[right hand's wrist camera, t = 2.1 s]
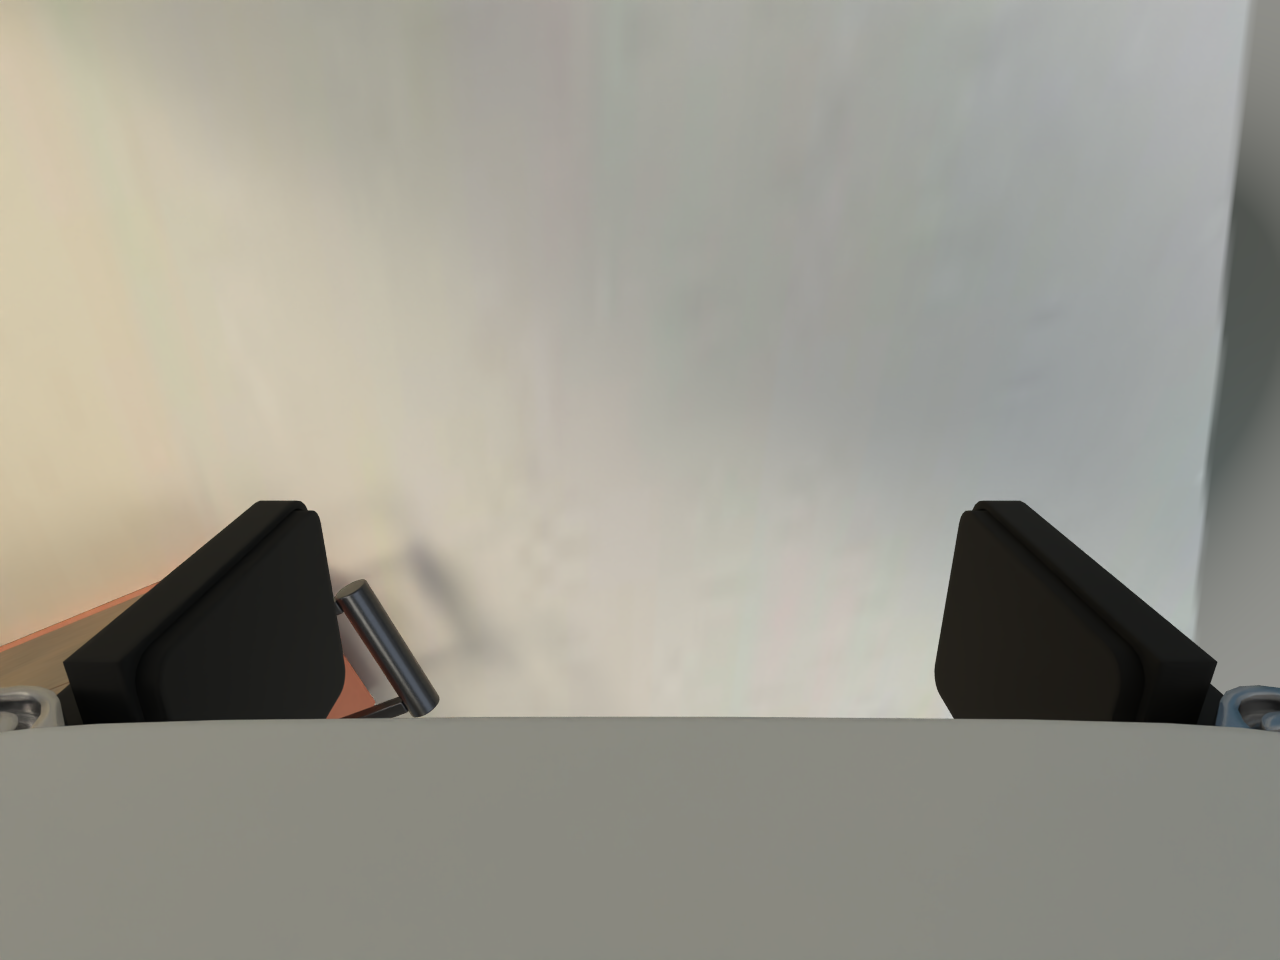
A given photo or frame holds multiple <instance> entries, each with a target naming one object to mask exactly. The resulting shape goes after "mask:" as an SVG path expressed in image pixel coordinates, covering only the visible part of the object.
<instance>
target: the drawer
mask: <svg viewBox="0 0 1280 960" xmlns="http://www.w3.org/2000/svg"><path fill="white" fill-rule="evenodd" d="M334 604H335V610H336V615H339V614H342V613H343V612H344V613H345V614H346V616H347V617H348V619H349V621H350V622H351V624H352V625H353V627H354V628H355V630H356V631H357V633H358V634H359V636H360V637H361V639H362V640H363V642H364V643H365V645H366V647H367V648H368V650H369V651H370V653H371V654H372V656H373V657H374V659H375V660H376V662H377V663H378V665H379V666H380V668H381V670H382V671H383V673H384V674H385V676H386V677H387V679H388V680H389V682H390V683H391V685H392V686H393V688H394V689H395V691H396V693H397V694H398V696H399V697H397V698H394V699H391V700H388V701H386V702H383V703H380V704H378V705H375V706H374V704H375V701H374V699H373V698H372V696H371V695H370V693H369V692H368V690H367V689H366V687H365V686H364V684H363V683H362V681H361V680H360V678H359V677H358V675H357V674H356V672H355V671H354V669H353V668H352V666H351V665H350V663H349V662H348V660H347V659H346V657H345V656H344V654H343V657H344V662H345V682H344V686H343V690H342V692H341V694H340V696H339V698H338V699H337V701H336V703H335V704H334V706H333V708H332V709H331V711H330V713H329V715H328V716H327V718H326V719H366V718H393V717H396V716H399V715H401V714H404V713H407V712H408V711H409V712H410V714H411V715H412V716H413V717H421V716H424V715H426V714H427V713H429V712H430V711H432V710H433V709H434V708H435V707H436V706H437V704H438V703H439V696H438V694H437V692H436V691H435V689H434V688H433V686H432V684H431V683H430V681H429V680H428V678H427V676H426V675H425V673H424V672H423V670H422V669H421V667H420V665H419V664H418V662H417V661H416V659H415V657H414V656H413V654H412V653H411V651H410V649H409V648H408V646H407V645H406V643H405V641H404V640H403V638H402V637H401V635H400V634H399V632H398V630H397V629H396V627H395V626H394V624H393V622H392V621H391V619H390V618H389V616H388V614H387V613H386V611H385V610H384V608H383V607H382V605H381V603H380V602H379V600H378V599H377V597H376V595H375V594H374V592H373V591H372V589H371V587H370V586H369V584H368V583H367V581H366V580H364V579H361V580H357V581H355V582H352V583H350V584H349V585H347V586H345V587H344V588H343V589H341V590H340V591H339V592H338V593H337V594H336V596H335V597H334Z"/></svg>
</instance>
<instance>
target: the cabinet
mask: <svg viewBox="0 0 1280 960" xmlns="http://www.w3.org/2000/svg"><path fill="white" fill-rule="evenodd" d="M158 583H159V582H157V583H155V584H152V585H150V586H147V587H145V588H143V589H140V590H138V591H135V592H133V593H130V594H128V595H125V596H123V597H121V598H118V599H116V600H113V601H111V602H108V603H106V604H104V605H101V606H99V607H96V608H94V609H91V610H89V611H86V612H84V613H82V614H79V615H77V616H74V617H72V618H69V619H67V620H65V621H62V622H60V623H57V624H55V625H52V626H50V627H47V628H45V629H43V630H40V631H38V632H35V633H33V634H30V635H28V636H26V637H23V638H21V639H18V640H16V641H13V642H11V643H8V644H6V645H4V646H1V647H0V688H4V687H12V686H20V685H23V686H41V687H43V688H46V689H48V690H51V691H54V693H55V694H56V695H57V694H58V693H60V692H61V691H62V690H63V689H64V688H65V687H66V686H68V685H69V684H70V683H69V680H68V677H67V674H66V671H65V668H64V665H63V661H64V660H66V659H67V658H68V657H69V656H70V655H72V654H73V653H74V652H75V651H76V650H78V649H79V648H80V647H81V646H83V645H84V644H85V643H86V642H87V641H89V640H90V639H91V638H92V637H93V636H95V635H96V634H97V633H98V632H100V631H101V630H102V629H103V628H104V627H106V626H107V625H108V624H109V623H110V622H112V621H113V620H114V619H115V618H117V617H118V616H119V615H120V614H121V613H123V612H124V611H125V610H126V609H127V608H129V607H130V606H131V605H132V604H133V603H135V602H136V601H137V600H138V599H140V598H141V597H142V596H143V595H144V594H146V593H147V592H148V591H149V590H150V589H152V588H153V587H154V586H155V585H157V584H158Z"/></svg>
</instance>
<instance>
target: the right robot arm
mask: <svg viewBox="0 0 1280 960" xmlns="http://www.w3.org/2000/svg"><path fill="white" fill-rule="evenodd" d="M63 665H64V668H65V671H66V674H67V677H68V680H69V683H70V684H69V685H68V686H66V687H65V688H64V689H63V690H62V691H61V692H60V693H58V694H57V695H56V694H55V693H54V691H51V690H48V689H46V688H43V687H41V686H23V685H20V686H12V687H4V688H0V960H1280V688H1276V687H1268V686H1260V685H1257V686H1240V687H1237V688H1234V689H1232V690H1229V691H1226V693H1225V694H1224V695H1223V694H1222V693H1220V692H1219V691H1218V690H1217V689H1216V688H1215V687H1214V686H1212V685H1211V684H1210V683H1211V680H1212V677H1213V674H1214V671H1215V667H1216V665H1217V661H1216V660H1214V659H1213V658H1212V657H1211V656H1210V655H1208V654H1207V653H1206V652H1205V651H1204V650H1202V649H1201V648H1200V647H1199V646H1197V645H1196V644H1195V643H1194V642H1193V641H1191V640H1190V639H1189V638H1188V637H1187V636H1185V635H1184V634H1183V633H1182V632H1180V631H1179V630H1178V629H1177V628H1176V627H1174V626H1173V625H1172V624H1171V623H1170V622H1168V621H1167V620H1166V619H1165V618H1163V617H1162V616H1161V615H1160V614H1159V613H1157V612H1156V611H1155V610H1154V609H1153V608H1151V607H1150V606H1149V605H1148V604H1147V603H1145V602H1144V601H1143V600H1142V599H1140V598H1139V597H1138V596H1137V595H1136V594H1134V593H1133V592H1132V591H1131V590H1130V589H1128V588H1127V587H1126V586H1125V585H1123V584H1122V583H1121V582H1120V581H1119V580H1117V579H1116V578H1115V577H1114V576H1113V575H1111V574H1110V573H1109V572H1108V571H1106V570H1105V569H1104V568H1103V567H1102V566H1100V565H1099V564H1098V563H1097V562H1096V561H1094V560H1093V559H1092V558H1091V557H1089V556H1088V555H1087V554H1086V553H1085V552H1083V551H1082V550H1081V549H1080V548H1079V547H1077V546H1076V545H1075V544H1074V543H1073V542H1071V541H1070V540H1069V539H1068V538H1066V537H1065V536H1064V535H1063V534H1062V533H1060V532H1059V531H1058V530H1057V529H1056V528H1054V527H1053V526H1052V525H1051V524H1049V523H1048V522H1047V521H1046V520H1045V519H1043V518H1042V517H1041V516H1040V515H1039V514H1037V513H1036V512H1035V511H1034V510H1032V509H1031V508H1030V507H1029V506H1028V505H1026V504H1025V503H1024V502H1022V501H979V502H978V503H977V504H975V506H974V508H973V510H972V511H965V512H964V513H963V514H962V516H961V518H960V522H959V528H958V533H957V539H956V545H955V551H954V557H953V563H952V569H951V574H950V580H949V586H948V592H947V598H946V604H945V610H944V615H943V621H942V627H941V633H940V639H939V645H938V651H937V657H936V662H935V682H936V686H937V690H938V692H939V694H940V696H941V698H942V699H943V701H944V703H945V704H946V706H947V708H948V709H949V711H950V713H951V715H952V716H953V718H954V719H912V718H794V717H459V718H366V719H326V718H327V716H328V715H329V713H330V711H331V709H332V708H333V706H334V704H335V703H336V701H337V699H338V698H339V696H340V694H341V692H342V690H343V686H344V682H345V662H344V657H343V651H342V645H341V639H340V633H339V627H338V621H337V615H336V610H335V604H334V598H333V592H332V586H331V580H330V574H329V569H328V563H327V557H326V551H325V545H324V539H323V533H322V528H321V522H320V518H319V516H318V514H317V513H316V512H315V511H308V510H307V508H306V506H305V504H303V503H302V502H301V501H258V502H256V503H255V504H254V505H252V506H251V507H250V508H249V509H248V510H246V511H245V512H244V513H243V514H241V515H240V516H239V517H238V518H237V519H235V520H234V521H233V522H232V523H231V524H229V525H228V526H227V527H226V528H224V529H223V530H222V531H221V532H220V533H218V534H217V535H216V536H215V537H214V538H212V539H211V540H210V541H209V542H207V543H206V544H205V545H204V546H203V547H201V548H200V549H199V550H198V551H197V552H195V553H194V554H193V555H192V556H191V557H189V558H188V559H187V560H186V561H184V562H183V563H182V564H181V565H180V566H178V567H177V568H176V569H175V570H174V571H172V572H171V573H170V574H169V575H167V576H166V577H165V578H164V579H163V580H161V581H160V582H159V583H158V584H157V585H155V586H154V587H153V588H152V589H150V590H149V591H148V592H147V593H146V594H144V595H143V596H142V597H141V598H140V599H138V600H137V601H136V602H135V603H133V604H132V605H131V606H130V607H129V608H127V609H126V610H125V611H124V612H123V613H121V614H120V615H119V616H118V617H117V618H115V619H114V620H113V621H112V622H110V623H109V624H108V625H107V626H106V627H104V628H103V629H102V630H101V631H100V632H98V633H97V634H96V635H95V636H93V637H92V638H91V639H90V640H89V641H87V642H86V643H85V644H84V645H83V646H81V647H80V648H79V649H78V650H76V651H75V652H74V653H73V654H72V655H70V656H69V657H68V658H67V659H66V660H64V661H63Z"/></svg>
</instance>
